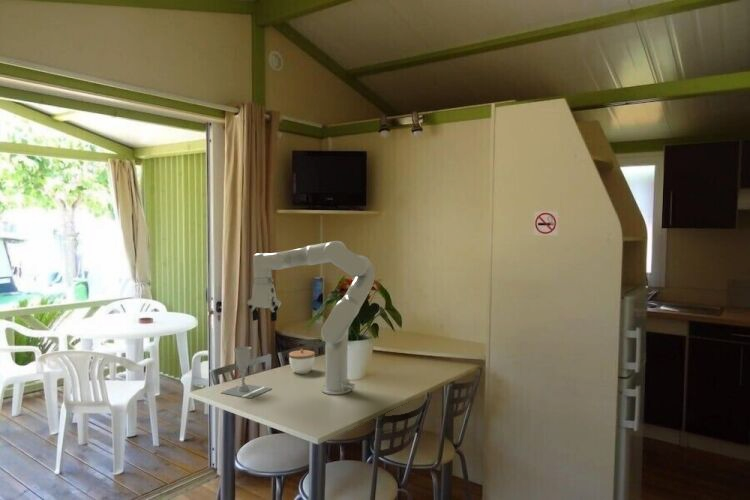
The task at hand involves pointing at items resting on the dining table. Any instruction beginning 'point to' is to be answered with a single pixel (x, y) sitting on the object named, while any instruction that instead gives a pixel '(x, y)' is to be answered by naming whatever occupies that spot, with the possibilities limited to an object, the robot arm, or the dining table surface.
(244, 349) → the chalice
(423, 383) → the dining table surface
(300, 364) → the lidded bowl
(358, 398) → the dining table surface
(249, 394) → the mat
